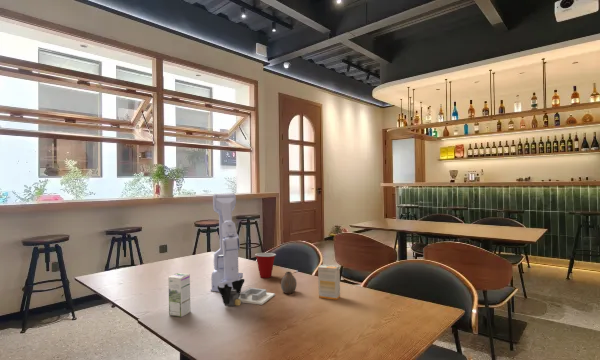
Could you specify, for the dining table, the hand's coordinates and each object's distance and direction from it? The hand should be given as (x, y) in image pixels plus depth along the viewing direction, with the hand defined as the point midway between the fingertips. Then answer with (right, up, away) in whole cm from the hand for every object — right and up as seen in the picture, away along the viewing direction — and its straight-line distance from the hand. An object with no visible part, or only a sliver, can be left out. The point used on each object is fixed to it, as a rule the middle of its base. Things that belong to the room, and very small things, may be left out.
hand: (231, 300), depth 135 cm
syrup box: (-18, -2, -9) cm, 20 cm away
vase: (+23, -1, +14) cm, 26 cm away
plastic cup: (+10, -2, +39) cm, 40 cm away
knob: (0, -1, 0) cm, 1 cm away
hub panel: (+8, -1, +7) cm, 10 cm away
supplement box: (+40, -1, +6) cm, 40 cm away
